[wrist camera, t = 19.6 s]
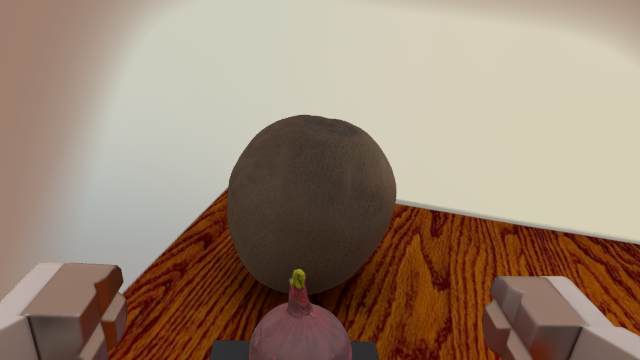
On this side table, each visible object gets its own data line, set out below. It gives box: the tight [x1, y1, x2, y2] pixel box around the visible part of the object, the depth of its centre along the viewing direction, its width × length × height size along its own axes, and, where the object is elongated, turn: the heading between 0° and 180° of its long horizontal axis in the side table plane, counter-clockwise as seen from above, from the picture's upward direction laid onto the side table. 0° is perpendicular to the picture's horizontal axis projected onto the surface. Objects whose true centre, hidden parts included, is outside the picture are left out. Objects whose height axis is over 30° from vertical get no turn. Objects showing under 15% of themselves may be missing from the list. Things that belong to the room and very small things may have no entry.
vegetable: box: [249, 269, 352, 360], centre depth 25 cm, size 6×6×10 cm
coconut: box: [227, 115, 396, 295], centre depth 36 cm, size 14×14×15 cm
